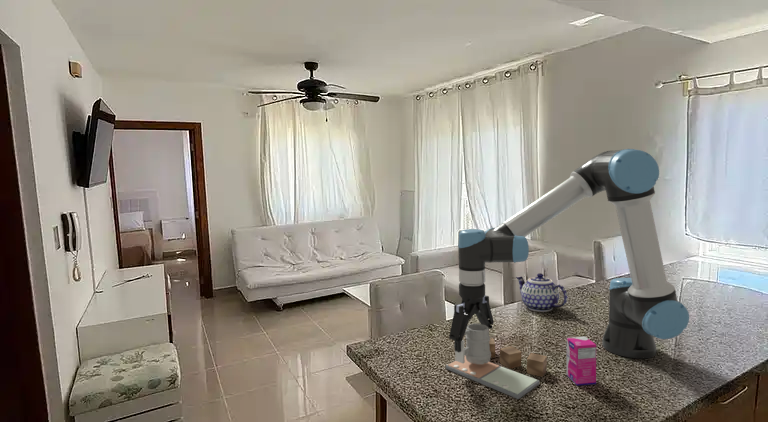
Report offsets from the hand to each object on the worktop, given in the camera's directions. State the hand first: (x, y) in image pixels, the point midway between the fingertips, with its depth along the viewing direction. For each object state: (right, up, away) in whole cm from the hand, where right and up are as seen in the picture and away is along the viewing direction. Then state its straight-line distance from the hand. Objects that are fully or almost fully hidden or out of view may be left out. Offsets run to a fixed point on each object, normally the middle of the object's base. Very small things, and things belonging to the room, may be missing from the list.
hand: (472, 355), depth 127 cm
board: (+4, -5, -4) cm, 7 cm away
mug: (0, -2, 0) cm, 2 cm away
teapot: (+39, +2, +54) cm, 66 cm away
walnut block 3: (+18, -4, -2) cm, 19 cm away
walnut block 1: (+7, -3, +11) cm, 13 cm away
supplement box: (+29, -5, -7) cm, 30 cm away
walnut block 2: (+12, -4, +3) cm, 13 cm away
